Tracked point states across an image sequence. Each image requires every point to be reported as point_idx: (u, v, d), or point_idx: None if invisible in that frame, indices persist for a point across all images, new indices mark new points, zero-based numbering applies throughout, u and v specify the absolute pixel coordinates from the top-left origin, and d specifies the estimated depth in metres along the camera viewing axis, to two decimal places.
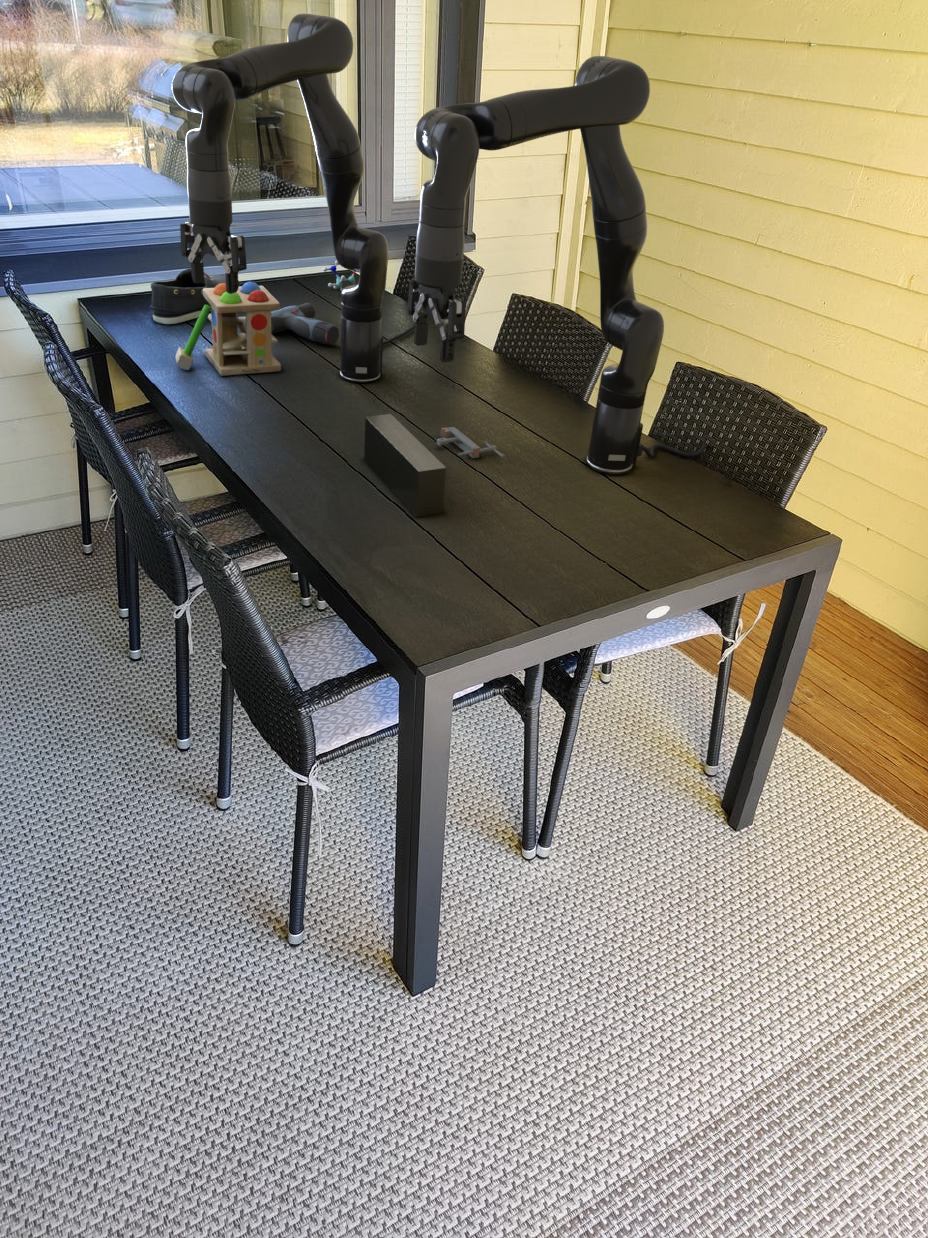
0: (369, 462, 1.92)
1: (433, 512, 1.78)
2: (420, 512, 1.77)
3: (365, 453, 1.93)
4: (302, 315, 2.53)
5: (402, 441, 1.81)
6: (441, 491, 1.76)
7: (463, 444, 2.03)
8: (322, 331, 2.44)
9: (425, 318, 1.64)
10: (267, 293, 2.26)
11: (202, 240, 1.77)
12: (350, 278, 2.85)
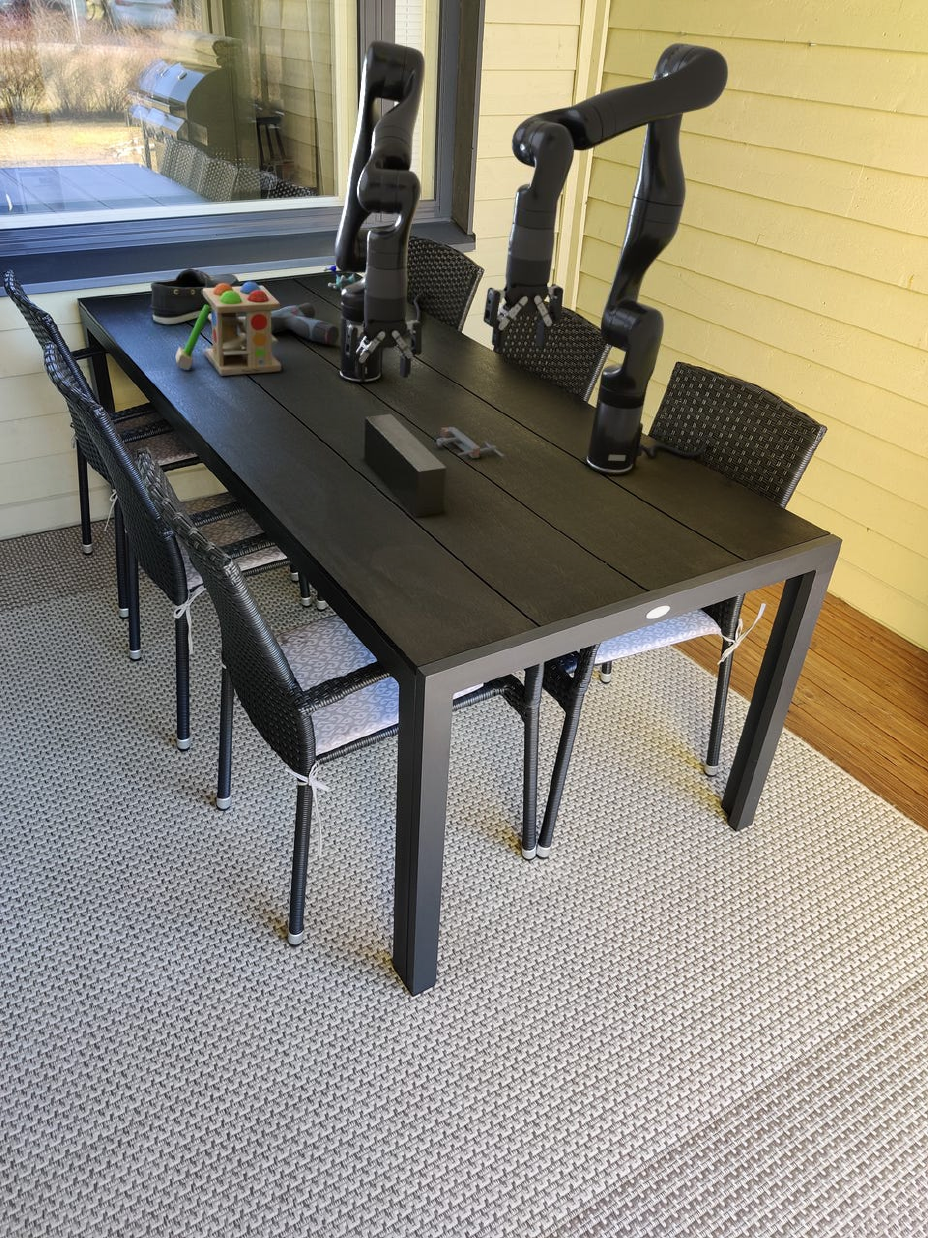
0: (369, 462, 1.92)
1: (433, 512, 1.78)
2: (420, 512, 1.77)
3: (365, 453, 1.93)
4: (302, 315, 2.53)
5: (402, 441, 1.81)
6: (441, 491, 1.76)
7: (463, 444, 2.03)
8: (322, 331, 2.44)
9: (544, 321, 1.72)
10: (267, 293, 2.26)
11: None
12: (350, 278, 2.85)
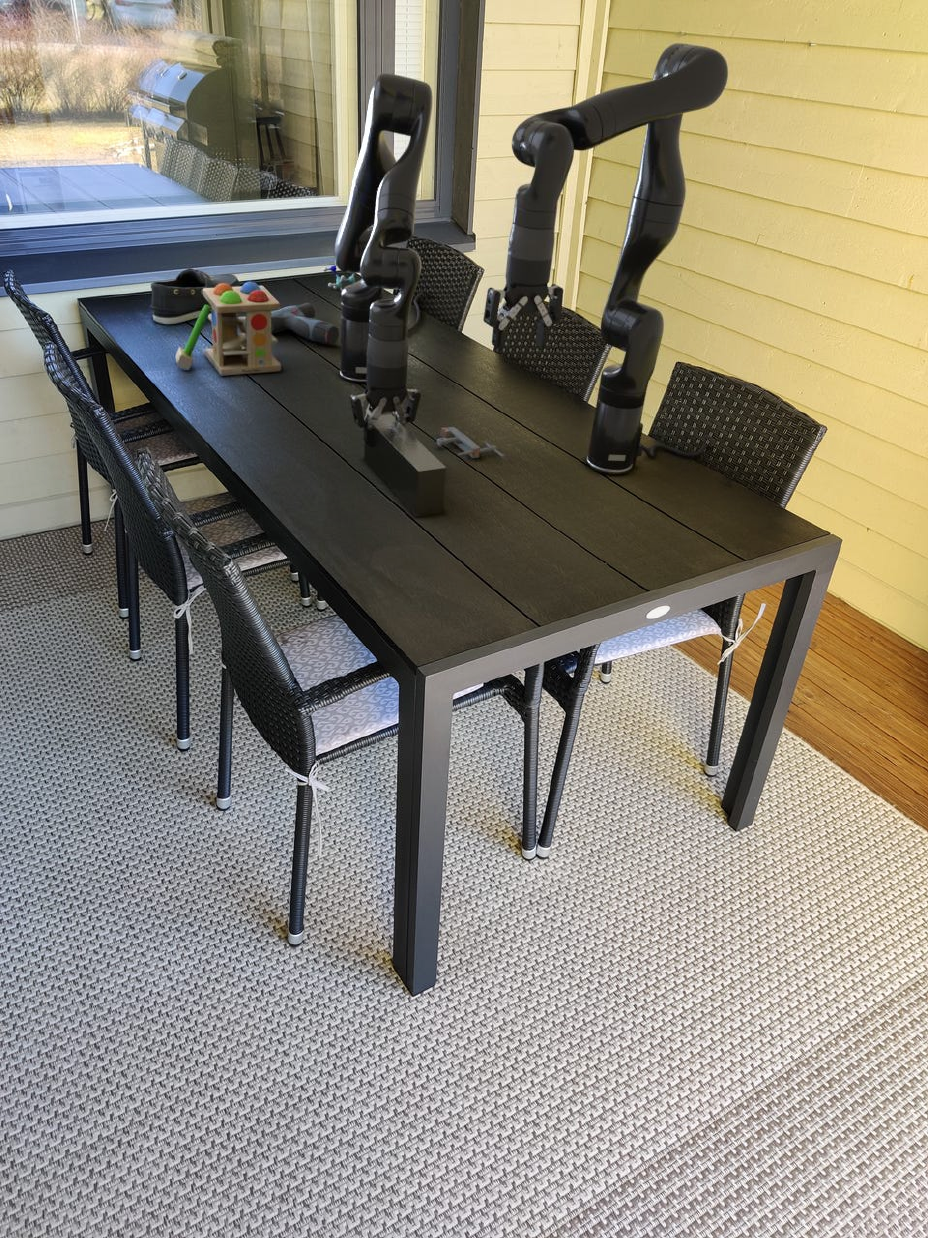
0: (369, 462, 1.92)
1: (433, 512, 1.78)
2: (420, 512, 1.77)
3: (365, 453, 1.93)
4: (302, 315, 2.53)
5: (402, 441, 1.81)
6: (441, 491, 1.76)
7: (463, 444, 2.03)
8: (322, 331, 2.44)
9: (544, 321, 1.72)
10: (267, 293, 2.26)
11: None
12: (350, 278, 2.85)
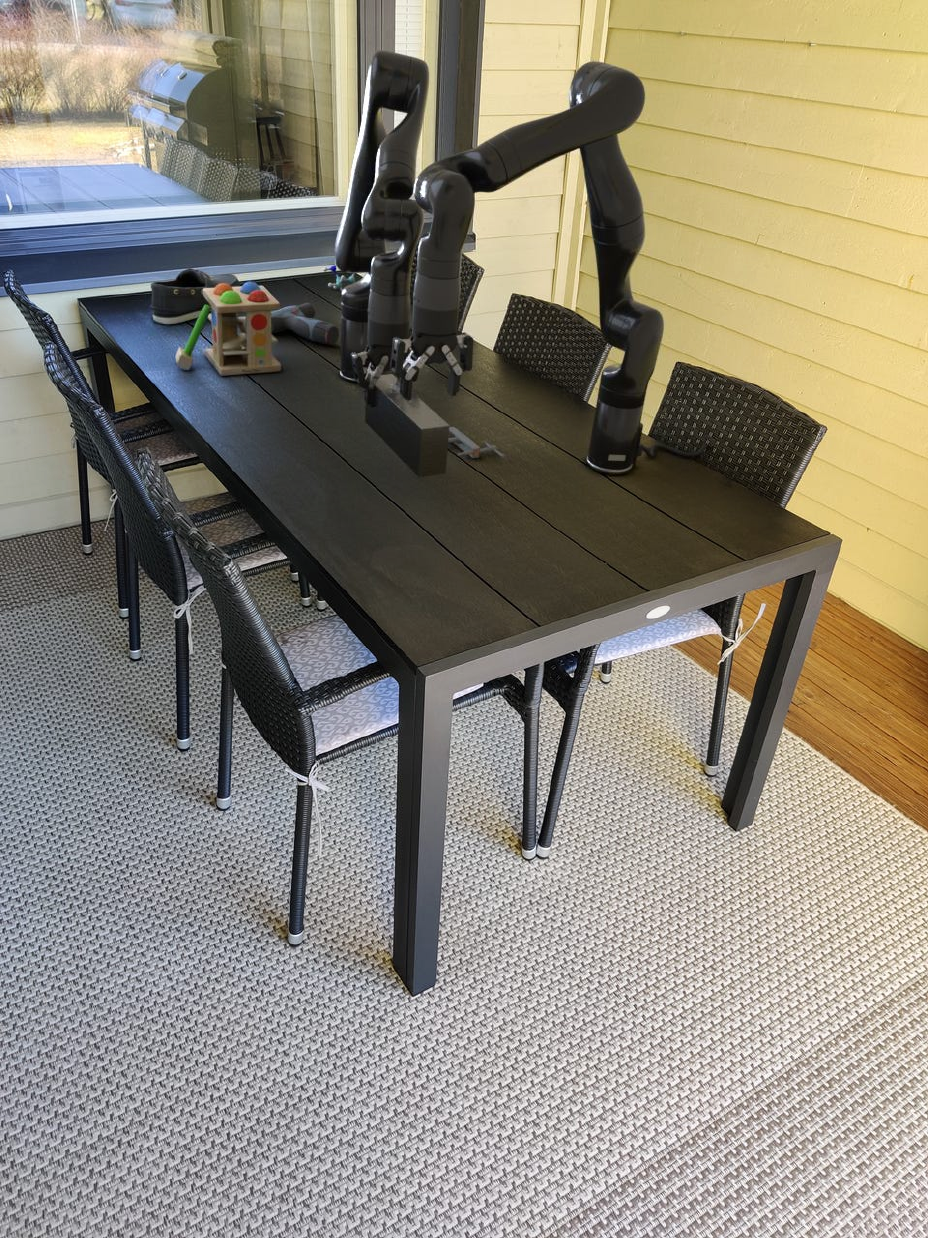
0: (371, 424, 1.88)
1: (436, 472, 1.74)
2: (423, 472, 1.72)
3: (366, 414, 1.89)
4: (302, 315, 2.53)
5: (404, 400, 1.77)
6: (444, 450, 1.72)
7: (463, 444, 2.03)
8: (322, 331, 2.44)
9: (454, 370, 1.67)
10: (267, 293, 2.26)
11: None
12: (350, 278, 2.85)
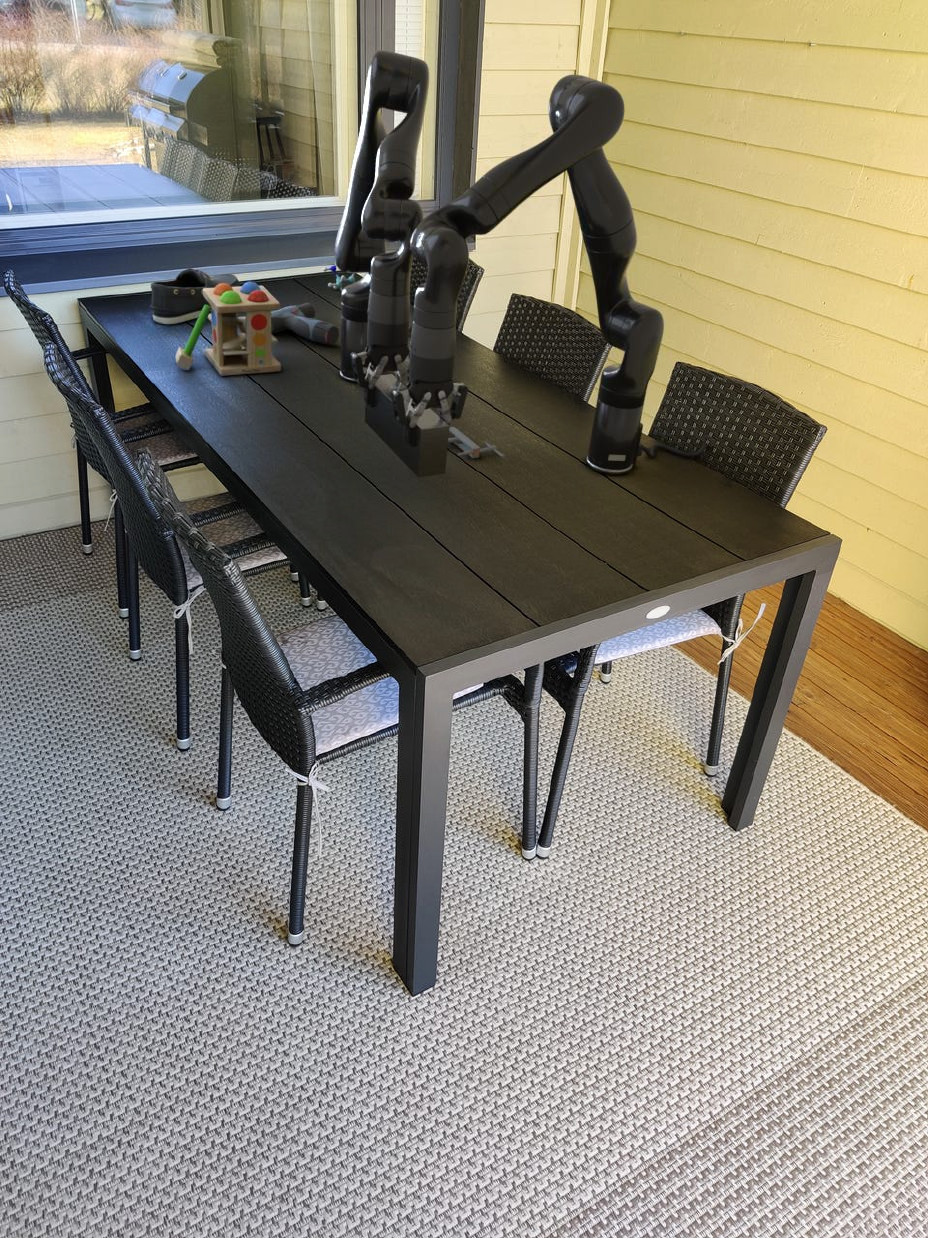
0: (370, 424, 1.88)
1: (436, 472, 1.74)
2: (422, 472, 1.72)
3: (366, 414, 1.89)
4: (302, 315, 2.53)
5: None
6: (444, 450, 1.72)
7: (463, 444, 2.03)
8: (322, 331, 2.44)
9: (443, 419, 1.71)
10: (267, 293, 2.26)
11: None
12: (350, 278, 2.85)
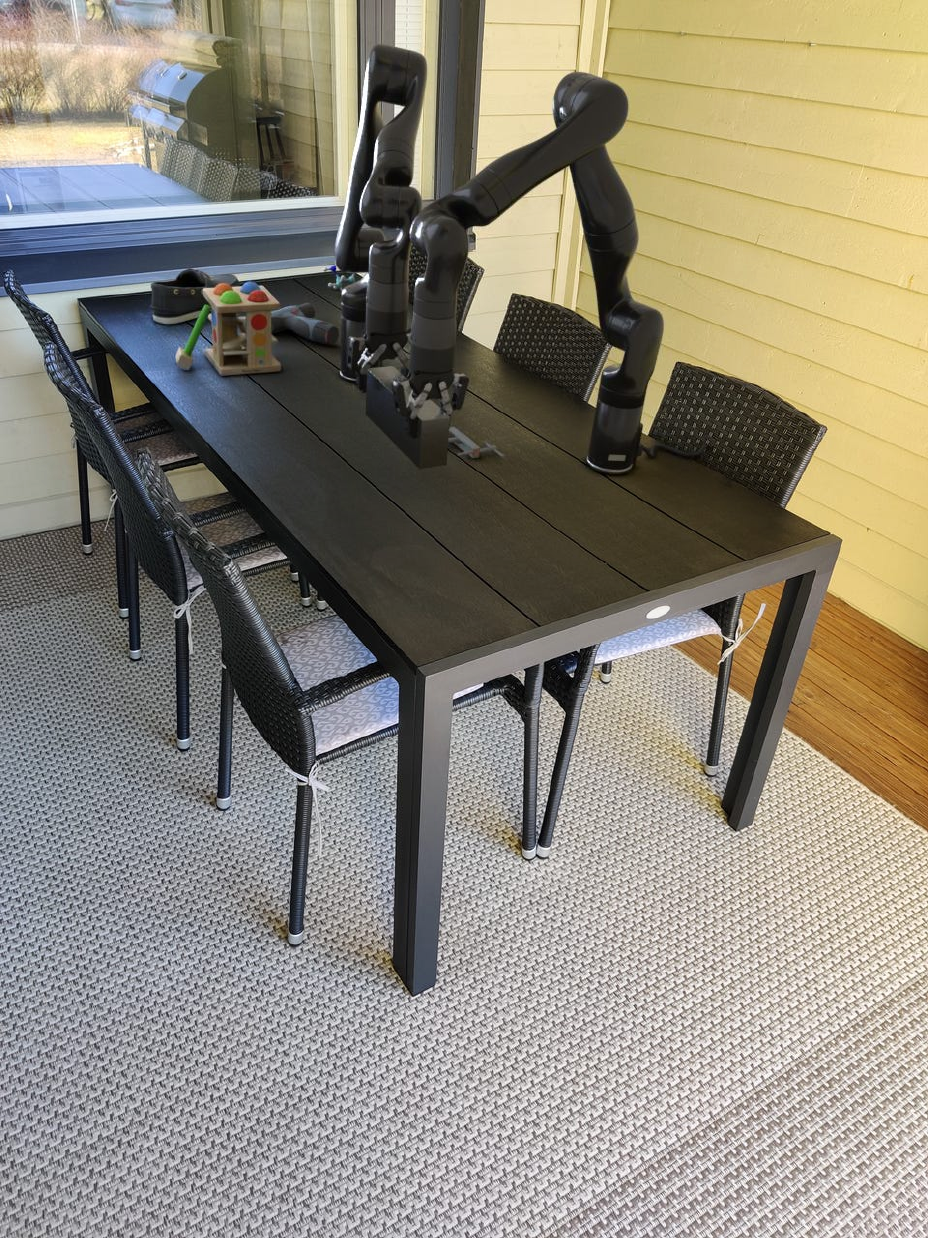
0: (371, 416, 1.87)
1: (437, 464, 1.73)
2: (423, 464, 1.71)
3: (367, 407, 1.88)
4: (302, 315, 2.53)
5: None
6: (445, 442, 1.71)
7: (463, 444, 2.03)
8: (322, 331, 2.44)
9: (444, 410, 1.70)
10: (267, 293, 2.26)
11: None
12: (350, 278, 2.85)
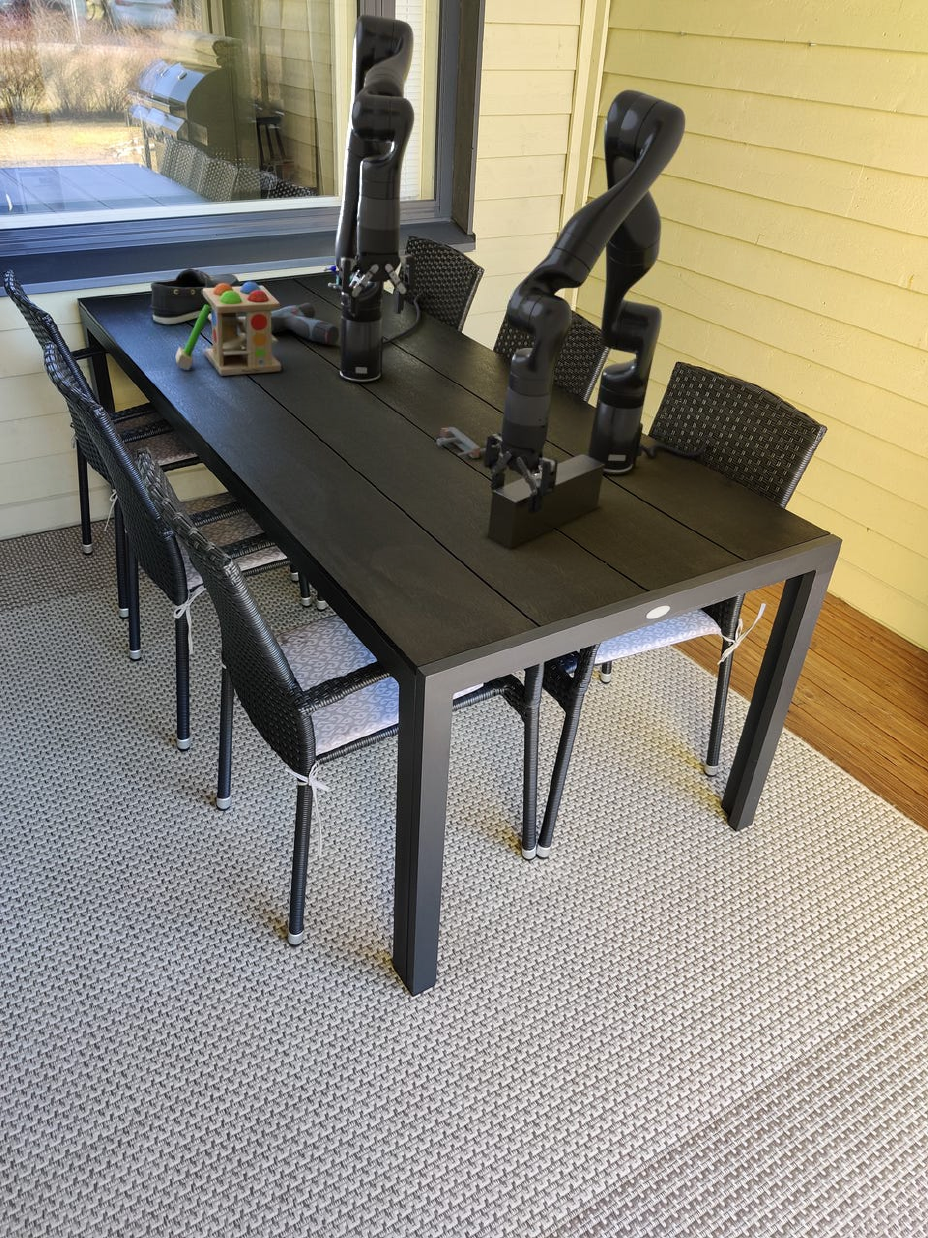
0: None
1: (502, 542, 1.71)
2: (491, 534, 1.72)
3: None
4: (302, 315, 2.53)
5: None
6: (510, 525, 1.68)
7: (463, 444, 2.03)
8: (322, 331, 2.44)
9: None
10: (267, 293, 2.26)
11: None
12: (350, 278, 2.85)
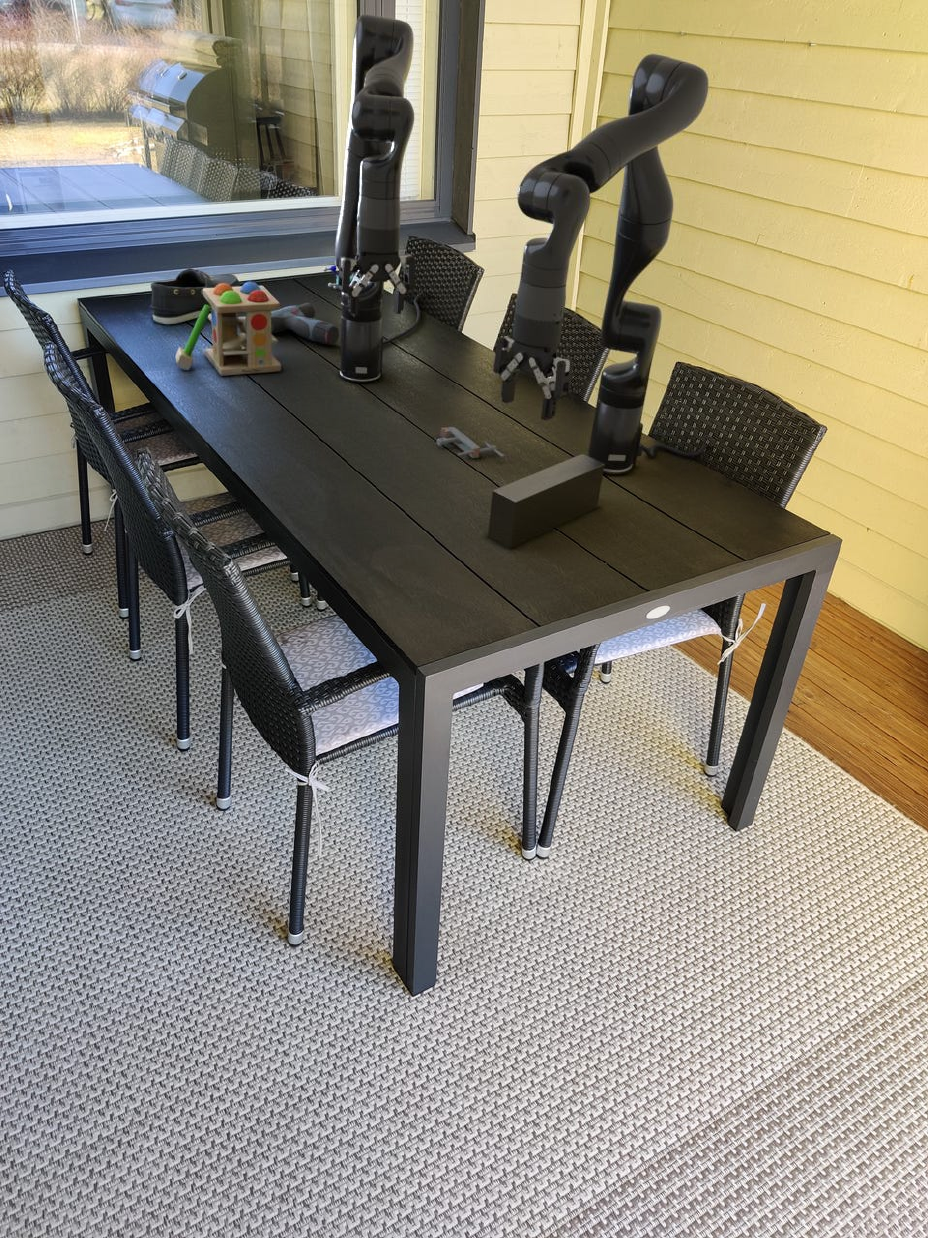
0: None
1: (502, 542, 1.71)
2: (491, 534, 1.72)
3: None
4: (302, 315, 2.53)
5: (548, 475, 1.74)
6: (510, 525, 1.68)
7: (463, 444, 2.03)
8: (322, 331, 2.44)
9: None
10: (267, 293, 2.26)
11: None
12: (350, 278, 2.85)
